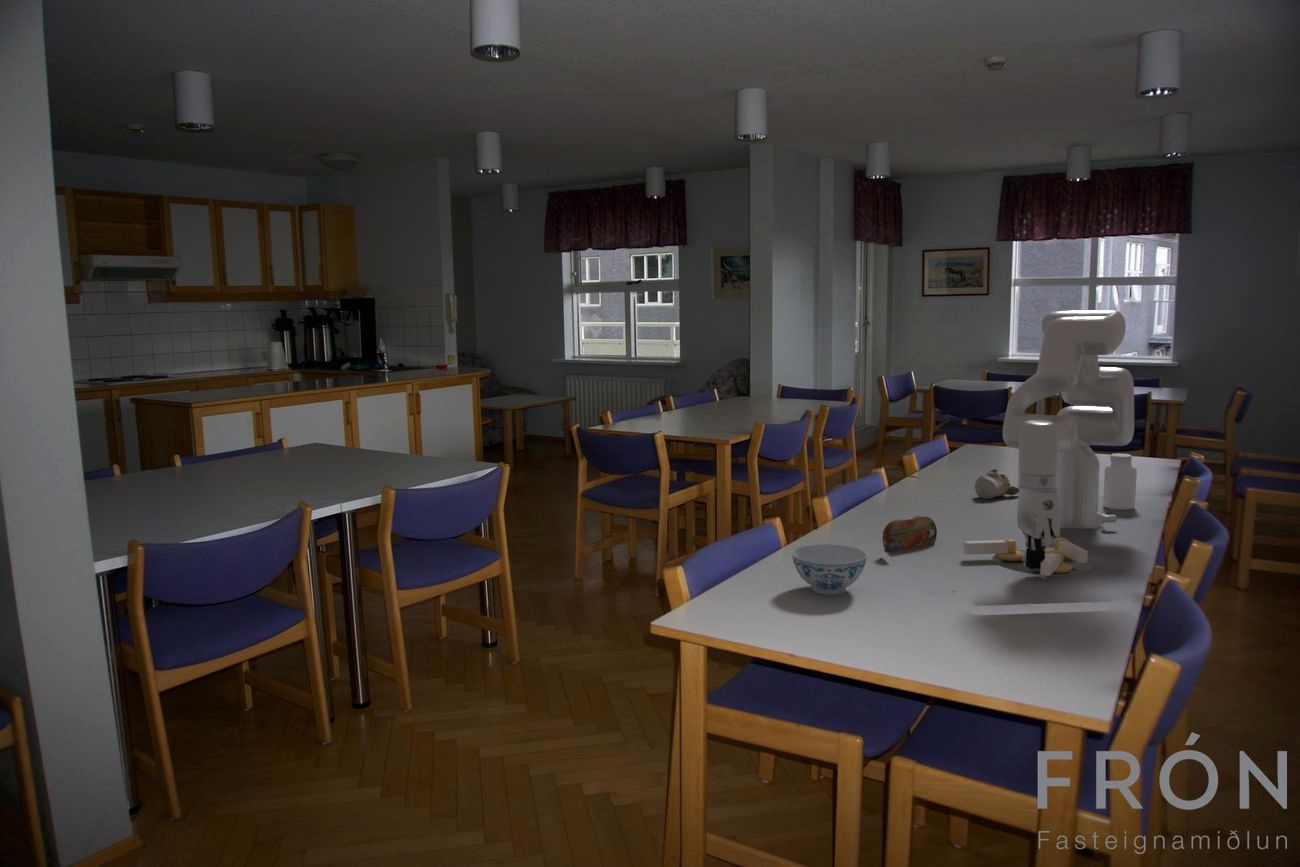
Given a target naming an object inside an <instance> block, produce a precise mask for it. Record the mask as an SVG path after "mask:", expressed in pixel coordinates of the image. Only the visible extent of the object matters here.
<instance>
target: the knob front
mask: <svg viewBox="0 0 1300 867" xmlns="http://www.w3.org/2000/svg"><path fill="white" fill-rule="evenodd" d="M1071 571H1072V565H1071V564H1069V563H1067V562H1063V551H1061V550H1050V554H1049V555H1048V556H1047V557H1046V558H1045V559H1044V560H1043V561H1042V562H1041V571H1040V574H1039V575H1040V576H1048V577H1051V576H1052V575H1051V574H1052V573H1068V572H1071Z"/></svg>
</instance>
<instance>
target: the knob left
mask: <svg viewBox="0 0 1300 867" xmlns="http://www.w3.org/2000/svg"><path fill="white" fill-rule="evenodd" d="M1017 544H1018V542H1017V539H1014V538H1013V539H1012V538H1006V539H995V540H994V539H993V540H970V541H969V540H966V541H963V553H964V554H965V555H987V554H989V555H993V554H994V555H995V557H996V558H998V559H1001V560H1007V561H1020V560H1024V555H1025V554H1024V553H1023V552H1021V551H1018V550H1019V549H1017Z"/></svg>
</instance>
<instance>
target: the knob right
mask: <svg viewBox="0 0 1300 867" xmlns="http://www.w3.org/2000/svg"><path fill="white" fill-rule="evenodd" d="M1050 550H1061V551H1063V559H1072V560H1074V561H1076V562H1078V563H1087V561H1088V557H1089V551H1088V550H1086V549H1084V548H1082V547H1081V546H1079V545H1077V544H1074V543H1072V542H1071V541H1069V540H1068V539H1067V538H1065V537H1060V536H1059V537H1058V538H1053V547H1046V550H1045V554H1050Z"/></svg>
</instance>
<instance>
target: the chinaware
mask: <svg viewBox="0 0 1300 867" xmlns="http://www.w3.org/2000/svg"><path fill="white" fill-rule="evenodd" d="M791 556H792V560H793V564H794V567H795V569H796V571H797V573H798V574H799V576H800V577H801V579H802V580H804V581H805V583H807V584H808V585H810V586H811V587H812V588H811V589H812V591H813V592H815V593H816V594H820V595H826V596H836V595H841V594H844V593H845V592H846V589H847V588H848V587H849V586H851V585H853V584H854V583H855V582H856V581H857V580H858V579H859V577H860V576H861V574H862V572H863V570H864V568H865V565H866V561H867V559H868V558H867V557H868V555H867V553H866V552H865V551H864V550H862V549H860V548H857V547H854V546H849V545H843V544H831V543H830V544H828V543H827V544H826V543H821V544H819V543H818V544H810V545H809V544H807V545H802V546H800V547H797V548H794V550H792V551H791Z"/></svg>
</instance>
